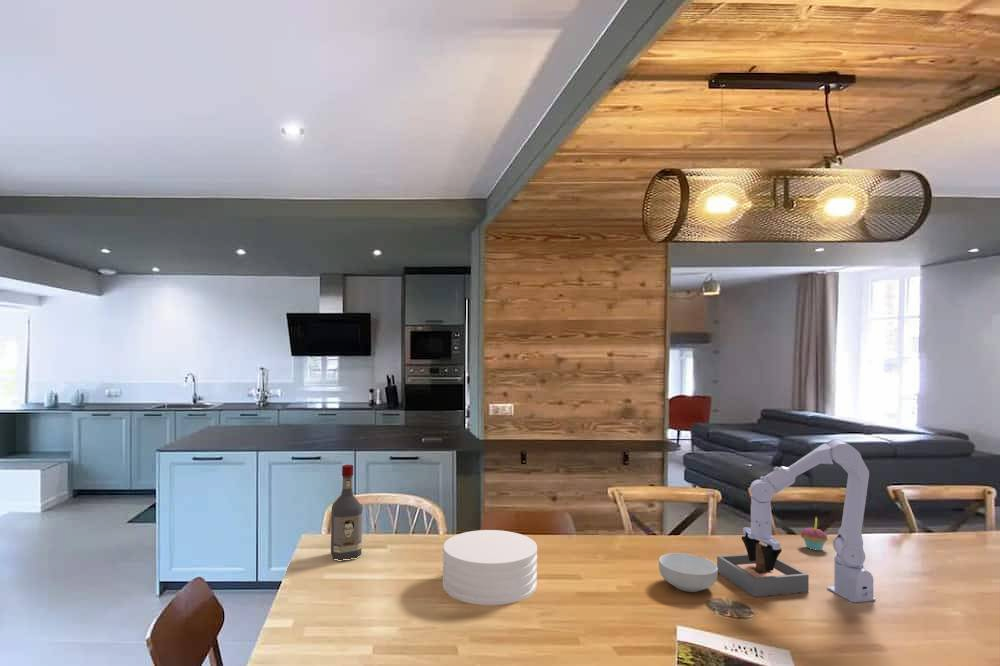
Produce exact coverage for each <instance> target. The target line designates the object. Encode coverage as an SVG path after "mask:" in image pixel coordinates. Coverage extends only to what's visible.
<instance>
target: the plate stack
mask: <svg viewBox="0 0 1000 666" xmlns="http://www.w3.org/2000/svg"><path fill="white" fill-rule="evenodd" d="M442 547H443V549H442V551H443V554H442V560H443V561H442V570H443V571H442V588H444V589H443V590H444V592H445V591H446V592H445V593H446V594H447V593H448V594H449V595H448V594H447V595H448V596H450V597H451V598H453V599H455V600H457V601H460V602H464V603H467V604H471V605H477V606H478V605H479V606H498V605H499V606H501V605H509V604H513V603H517V602H520V601H523V600H525V599H527V598H529V597H530V596H532V595H533V594H534V593H535V592H536V590H537V588H536V587H537V586H538V572H537V571H538V570H537V569H538V545H537V543H536V541H535V540H533V539H532V538H531V537H530V536H529V537H528V536H527V535H524V534H521V533H517V532H514V531H513V532H512V531H506V530H499V529H498V530H497V529H479V530H471V531H465V532H462V533H458V534H455V535H453V536H451V537H450V538H449V537H448V539H446V540H445V541H444V542H443V546H442ZM534 591H535V592H534ZM533 592H534V593H533Z"/></svg>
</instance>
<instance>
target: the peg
mask: <svg viewBox="0 0 1000 666" xmlns="http://www.w3.org/2000/svg"><path fill="white" fill-rule="evenodd" d="M764 546H767V545H766V544H764V543H762V542H761V543H760V542H759V543H757V544H756V572H757V573H759V574H761V573H767V571H766V569H765V560H764V555H763V552H762V549H761V547H764Z"/></svg>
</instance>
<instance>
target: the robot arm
mask: <svg viewBox="0 0 1000 666" xmlns="http://www.w3.org/2000/svg"><path fill="white" fill-rule="evenodd" d="M833 461H834V462H835V463H837V464H838V465H839V466H840V467H842V468H843V470H844V471H845V472H846V473H847V474H848V475H847V482H846V490H845V497H844V503H843V511H842V519H841V526H840V527H839V529H838V530H837V535H836V537H835V538H834V539H833V541H832V548H833V549H834V551H835V552H836V554H835V557H834V560H833V561H834V563H833V564H834V565H833V566H834V570H833V571H834V572H833V573H834V577H833V578H834V580H833V581H834V585H831V586H827V588H826V589H828V590H829V591H832V592H833V593H835V594H836V595H838V596H839V597H840V596H841V597H842V598H844V599H846V600H847V601H849V602H851V603H860V602H861V603H862V602H872V601H876V600H877V599H876V598H875V597H874V577H873V575H872V573H871V572H870V571H868V570H867V569H866V568H865V566H864V563H865V560H866V553H865V550H864V539H863V536H862V530H863V523H864V518H865V517H864V516H865V509H866V508H865V507H866V503H867V494H868V493H867V492H868V486H869V478H870V471H869V469H868V466H867V465H866V463H865V462H864V459H863V458H862V454H861V453H860V452H859V451H858V450H857V449H856V448H855V447H853V446H852V445H851V444H849V443H847V442H846V441H844V440H843V439H840V438H839V439H838V438H833V439H831V440H828V441H827V442H826V443H825V442H824V443H823V444H821V445H819V446H817V447H816V448H815V449H813V450H812V451H810V452H809V453H807V454H806V455H804V456H802V457H801V458H800V459H798V460H797V461H796V462H794V463H792V464H791V465H789V466H784V465H783V466H782V465H781V466H780V467H779V466H775V467H773V470H772V471H771V472H770V473H768V474H767V475H766V474H765V476H763V475H761V476H760V477H759V478H760V479H756V480H753V481H752V482H751V484H750V486H749V489H748V490H749V492H750V493H751V499H750V501H751V503H750V526H749V527H743V528H742V532H743V533H742V534H743V536H741V540H742V542H743V544H744V546H745V550H746V552H747V553H746V554H748V557H749V561H756V544H757V543H760V542H761V544H765V545H767V546H764V547H761V549H762V552H763V555H764V560H765V569H766V571H773V569H774V565H775V562H776V559H777V558H779V556H780V554H781V553H782V551H783V550H782V547H781V542H779V541H778V540H777V539H775V538H774V536H772V506H771V505H772V504H771V501H772V499H773V497H774V495H775V494H778V493H780V492H781V491H783V490H785V489H786V488H788V487H790V486H791V485H793V484H795V483H796V478H797V477H798V476H799V475H801V474H803V473H805V472H807V471H809V470H811V469H812V468H814V467H817V466H819V465H820V464H824V465H834V462H833Z"/></svg>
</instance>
